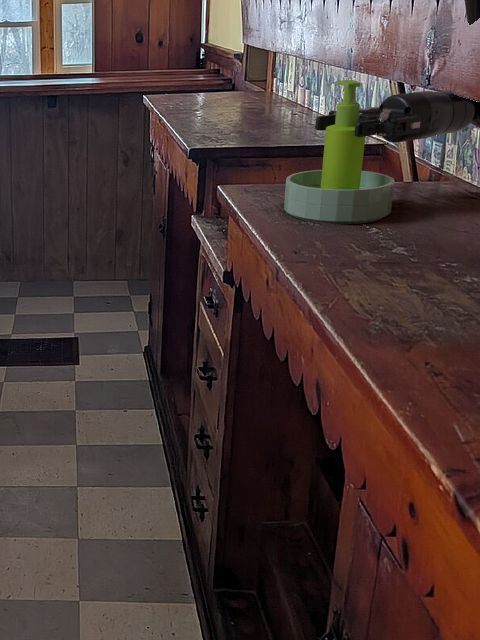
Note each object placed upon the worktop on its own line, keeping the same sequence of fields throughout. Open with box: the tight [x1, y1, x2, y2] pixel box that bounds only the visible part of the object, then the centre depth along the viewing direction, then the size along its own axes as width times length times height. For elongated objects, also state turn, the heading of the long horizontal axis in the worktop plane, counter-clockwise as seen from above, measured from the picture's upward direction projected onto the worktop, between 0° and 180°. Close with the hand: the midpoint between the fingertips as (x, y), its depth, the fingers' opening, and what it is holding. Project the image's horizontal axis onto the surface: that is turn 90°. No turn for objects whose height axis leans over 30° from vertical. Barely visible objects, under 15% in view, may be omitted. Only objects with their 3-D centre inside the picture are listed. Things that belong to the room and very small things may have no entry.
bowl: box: [283, 169, 396, 225], centre depth 140 cm, size 16×16×6 cm
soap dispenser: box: [321, 79, 366, 189], centre depth 137 cm, size 6×7×20 cm
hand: (336, 126), depth 135 cm, fingers open, 8 cm apart
